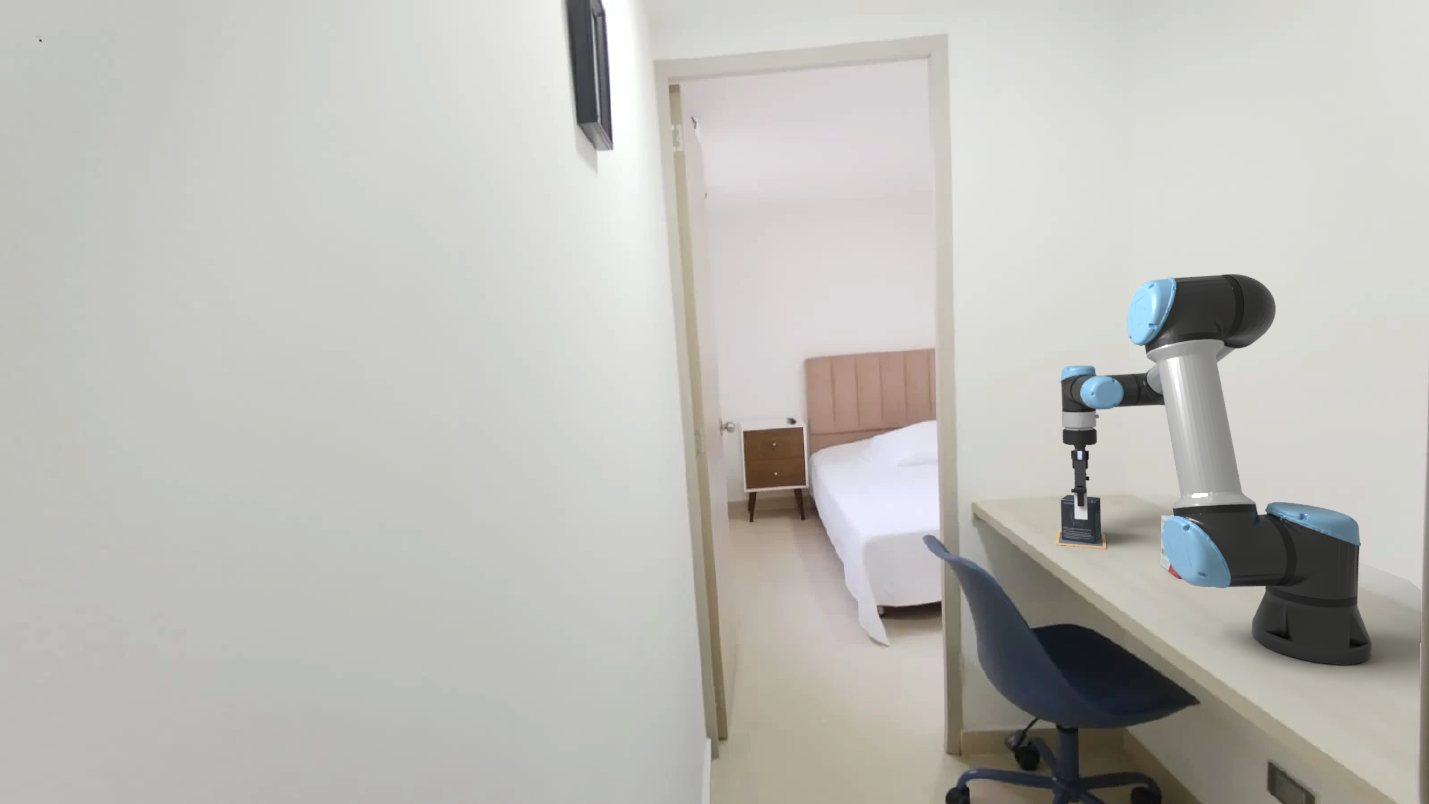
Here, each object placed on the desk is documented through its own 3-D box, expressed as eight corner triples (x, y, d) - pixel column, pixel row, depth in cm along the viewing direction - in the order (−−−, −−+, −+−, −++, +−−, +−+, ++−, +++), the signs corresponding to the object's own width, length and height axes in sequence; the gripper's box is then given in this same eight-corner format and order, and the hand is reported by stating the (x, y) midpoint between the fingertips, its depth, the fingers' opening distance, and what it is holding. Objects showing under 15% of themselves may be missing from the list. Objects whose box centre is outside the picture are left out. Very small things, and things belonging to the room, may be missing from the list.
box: (1101, 538, 175) (1100, 497, 173) (1095, 544, 170) (1095, 502, 169) (1067, 533, 180) (1066, 493, 179) (1061, 539, 176) (1060, 498, 175)
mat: (1106, 549, 168) (1106, 547, 168) (1055, 545, 173) (1055, 543, 173) (1105, 535, 177) (1105, 534, 177) (1057, 532, 183) (1057, 531, 183)
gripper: (1097, 435, 160) (1099, 525, 161) (1095, 421, 181) (1097, 501, 183) (1060, 435, 163) (1063, 523, 165) (1063, 422, 185) (1065, 500, 187)
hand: (1081, 512), depth 174 cm, fingers open, 13 cm apart
